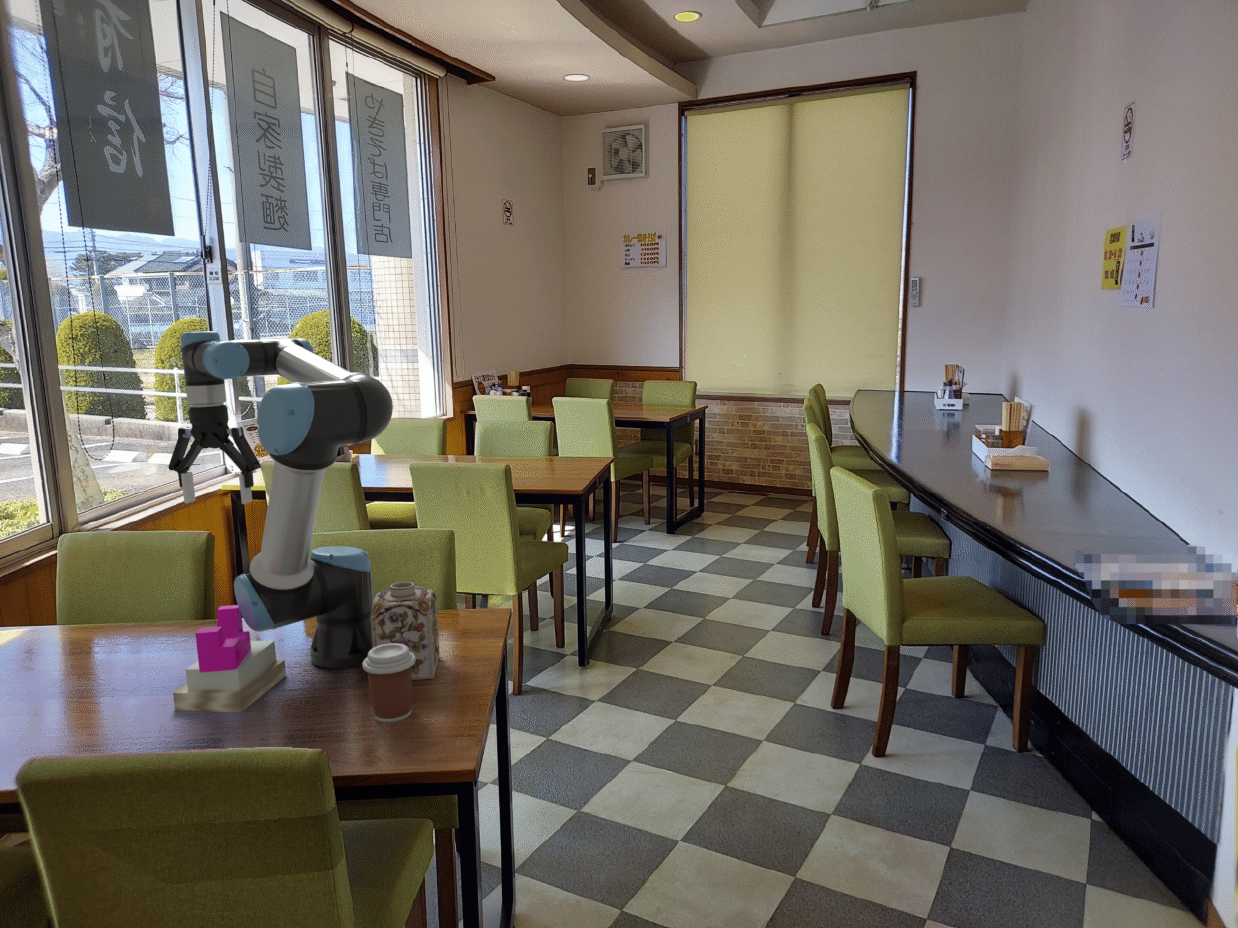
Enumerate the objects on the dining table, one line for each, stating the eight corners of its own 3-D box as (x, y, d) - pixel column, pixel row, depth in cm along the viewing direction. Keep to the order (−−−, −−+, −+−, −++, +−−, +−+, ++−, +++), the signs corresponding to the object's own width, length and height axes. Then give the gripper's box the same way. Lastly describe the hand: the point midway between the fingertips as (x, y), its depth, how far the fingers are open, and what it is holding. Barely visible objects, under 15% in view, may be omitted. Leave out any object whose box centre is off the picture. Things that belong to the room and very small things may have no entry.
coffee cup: (393, 698, 157) (388, 637, 155) (430, 708, 152) (425, 645, 150) (355, 718, 149) (350, 654, 147) (393, 730, 144) (387, 664, 142)
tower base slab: (286, 678, 169) (284, 659, 168) (241, 715, 153) (239, 694, 152) (226, 676, 170) (223, 658, 170) (175, 713, 155) (172, 692, 154)
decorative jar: (373, 684, 163) (366, 595, 160) (383, 660, 175) (376, 577, 172) (436, 679, 165) (430, 591, 162) (441, 656, 176) (436, 573, 173)
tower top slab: (276, 659, 168) (274, 640, 167) (239, 690, 154) (237, 669, 154) (228, 659, 169) (226, 640, 168) (187, 689, 155) (185, 669, 154)
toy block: (236, 669, 154) (231, 630, 152) (199, 672, 153) (195, 633, 152) (257, 639, 168) (253, 603, 167) (224, 642, 167) (220, 606, 166)
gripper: (271, 402, 181) (280, 498, 184) (166, 403, 185) (178, 498, 188) (251, 406, 173) (261, 506, 177) (142, 407, 177) (154, 505, 181)
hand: (218, 502), depth 183 cm, fingers open, 13 cm apart
